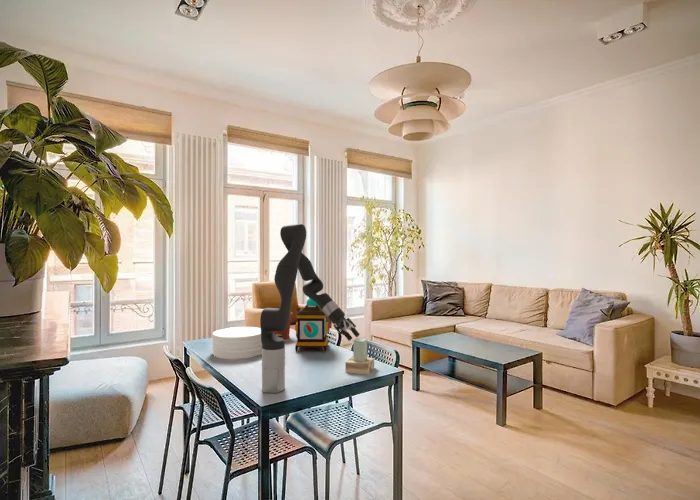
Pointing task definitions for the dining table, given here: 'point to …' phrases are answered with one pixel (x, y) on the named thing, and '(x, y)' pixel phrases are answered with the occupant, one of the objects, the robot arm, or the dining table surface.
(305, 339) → the decorative lantern
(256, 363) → the dining table surface
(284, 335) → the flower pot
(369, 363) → the oak block
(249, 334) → the plate stack
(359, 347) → the sage pillar
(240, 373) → the dining table surface
